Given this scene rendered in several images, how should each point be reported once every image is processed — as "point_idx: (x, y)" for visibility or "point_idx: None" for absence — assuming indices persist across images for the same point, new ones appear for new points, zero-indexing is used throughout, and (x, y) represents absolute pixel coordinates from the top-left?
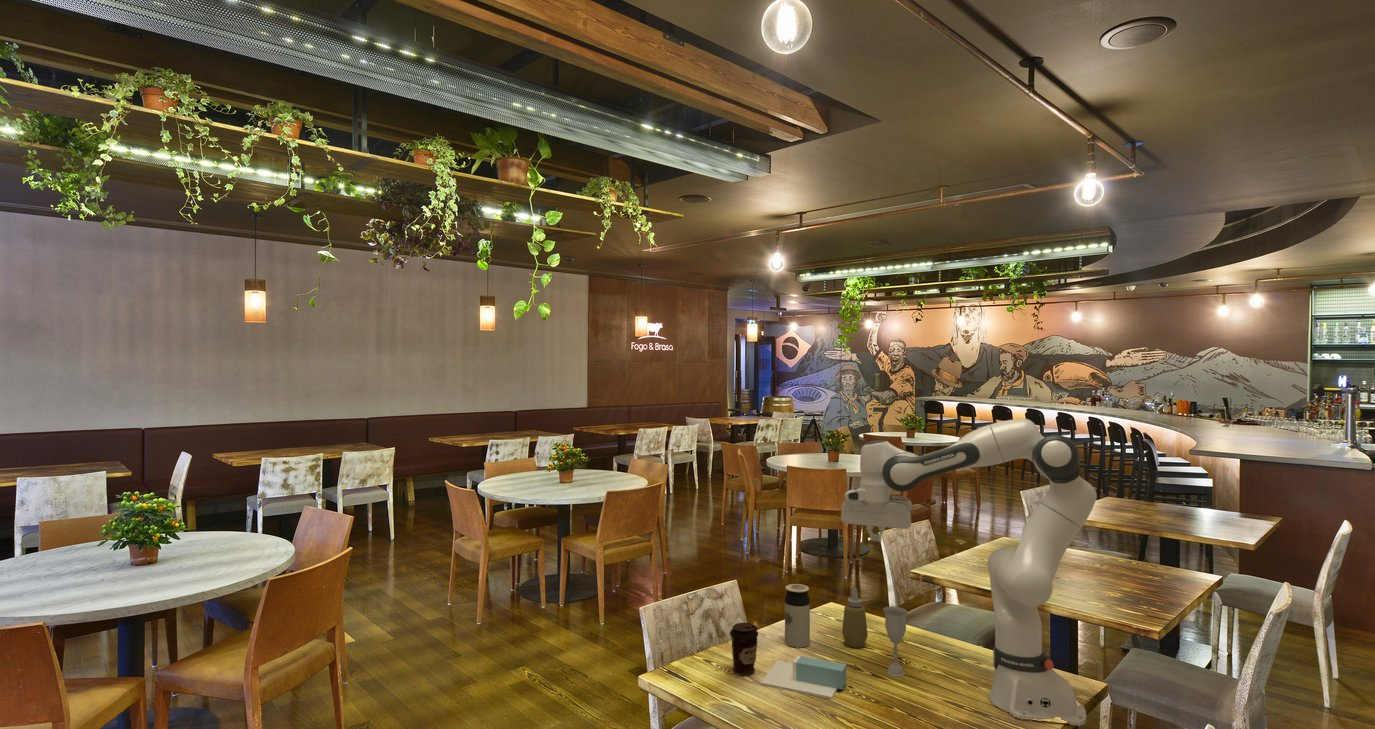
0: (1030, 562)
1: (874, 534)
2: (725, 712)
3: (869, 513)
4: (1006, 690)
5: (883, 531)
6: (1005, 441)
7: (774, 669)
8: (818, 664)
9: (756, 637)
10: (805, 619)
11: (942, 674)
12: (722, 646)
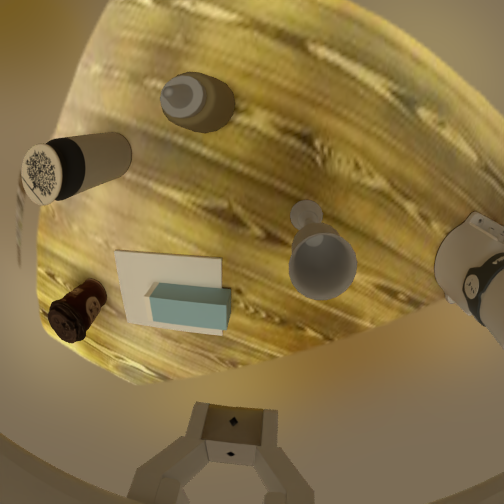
0: None
1: (218, 447)
2: (134, 378)
3: None
4: (456, 300)
5: (299, 474)
6: None
7: (123, 281)
8: (184, 318)
9: (83, 320)
10: (100, 177)
11: (385, 192)
12: (39, 224)
